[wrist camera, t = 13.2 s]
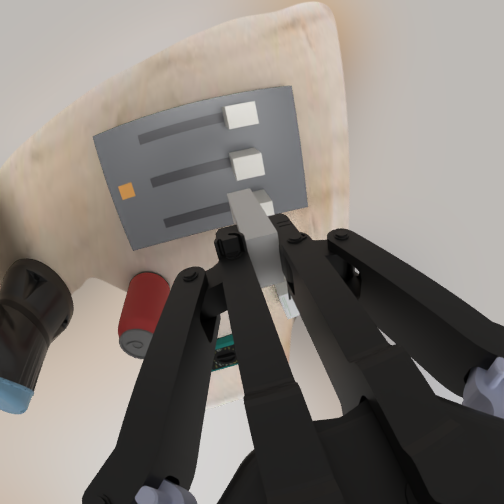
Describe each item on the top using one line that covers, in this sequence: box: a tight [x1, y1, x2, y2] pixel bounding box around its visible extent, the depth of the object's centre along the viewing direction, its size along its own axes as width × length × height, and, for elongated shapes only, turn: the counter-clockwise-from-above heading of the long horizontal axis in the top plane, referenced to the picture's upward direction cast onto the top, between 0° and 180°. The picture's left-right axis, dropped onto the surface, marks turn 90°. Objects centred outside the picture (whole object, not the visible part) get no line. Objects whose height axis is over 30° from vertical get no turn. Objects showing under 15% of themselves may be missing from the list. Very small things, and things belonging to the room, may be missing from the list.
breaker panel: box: [93, 86, 308, 251], centre depth 30 cm, size 24×16×7 cm, turn 100°
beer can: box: [118, 273, 170, 359], centre depth 35 cm, size 7×7×12 cm
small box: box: [274, 276, 300, 319], centre depth 43 cm, size 6×6×5 cm
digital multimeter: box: [211, 334, 238, 372], centre depth 49 cm, size 7×15×3 cm, turn 106°
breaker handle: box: [229, 148, 265, 181], centre depth 29 cm, size 3×2×4 cm
